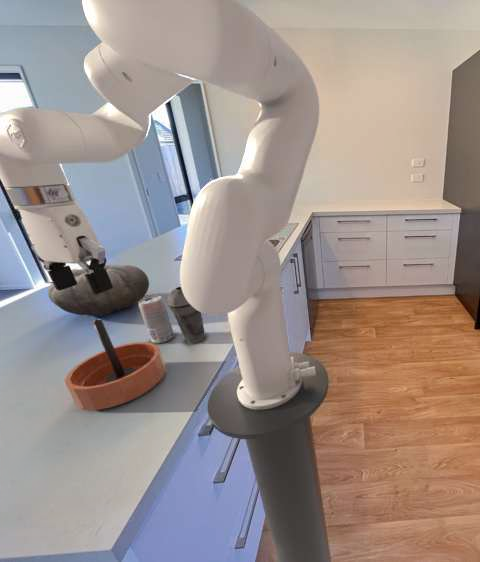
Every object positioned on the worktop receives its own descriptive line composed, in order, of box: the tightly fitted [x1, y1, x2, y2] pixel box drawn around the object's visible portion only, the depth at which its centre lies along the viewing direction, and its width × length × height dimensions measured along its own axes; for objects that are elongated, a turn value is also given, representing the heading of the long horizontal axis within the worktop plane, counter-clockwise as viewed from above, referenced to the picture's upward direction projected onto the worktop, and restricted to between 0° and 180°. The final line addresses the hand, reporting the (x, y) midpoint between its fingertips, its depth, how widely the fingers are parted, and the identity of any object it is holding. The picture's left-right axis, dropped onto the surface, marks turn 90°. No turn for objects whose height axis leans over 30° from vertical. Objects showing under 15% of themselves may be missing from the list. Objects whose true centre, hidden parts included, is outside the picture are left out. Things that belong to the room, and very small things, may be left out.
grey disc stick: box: [92, 318, 136, 383], centre depth 63 cm, size 5×5×16 cm
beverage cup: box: [167, 286, 206, 345], centre depth 79 cm, size 7×7×20 cm
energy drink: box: [138, 295, 175, 344], centre depth 81 cm, size 5×5×12 cm
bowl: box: [64, 341, 167, 411], centre depth 65 cm, size 16×16×6 cm
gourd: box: [47, 264, 150, 317], centre depth 99 cm, size 25×25×17 cm
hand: (85, 289), depth 57 cm, fingers open, 9 cm apart
